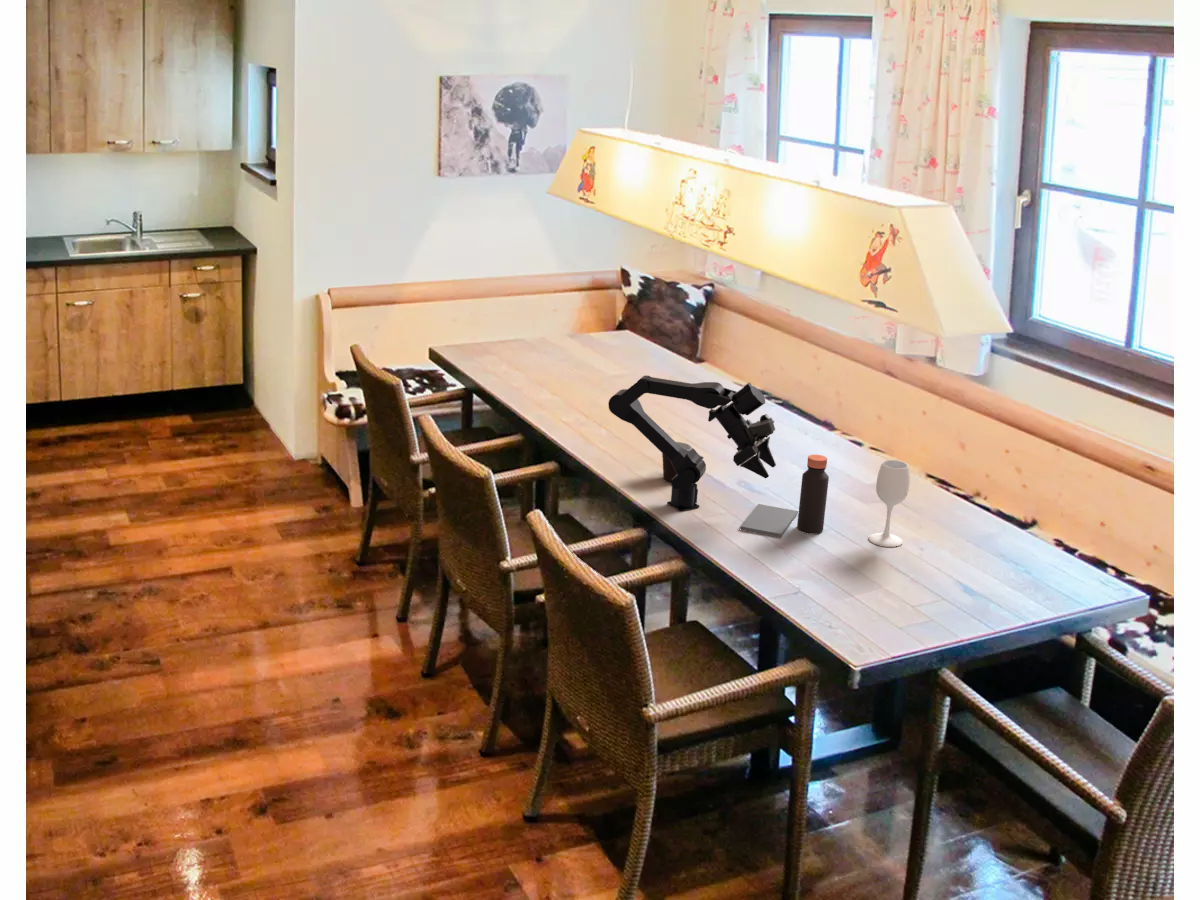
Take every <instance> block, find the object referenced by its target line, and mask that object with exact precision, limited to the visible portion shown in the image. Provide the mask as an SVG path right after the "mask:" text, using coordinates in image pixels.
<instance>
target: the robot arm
mask: <svg viewBox="0 0 1200 900" xmlns="http://www.w3.org/2000/svg"><path fill="white" fill-rule="evenodd" d="M636 381H637V382H635V383H634V384H632V385H631V386H630V387H629V388H627V389H625V388H623V389H620V390H618V391H617V392H616V393H615V394H613V395H612V396H611V397H610V398H609V400H608V410H609V412H611V413H612V414H613V415H614V416H615V417H616V418H618V419H620V420H622V421H624V422H626V423H628V424H631V425H632V426H634V428H636V429H637V430H638V431H639V433H641V434H642V435H643V436H644V437H645V438H646V439H647V440H648V441H649V442H650V443H651V444H652V445H653V446H654V447H656V448H657V450H659V451H660V452H661V454H662V453H663V454H664V455H665V456H666V457H667V458H668V459H669V460H670V461H671V463H672V465H673V467H674V470H675V472H676V473H677V474H676V475H675V476H674V478H673V479H672V480H671V483H670V485H671V492H670V493H671V495H670V501H667V502H666V504H667V505H669V506H670V507H672V508H674V509H676V510H678V511H679V512H684V511H689V510H693V509H698V508H700V505H699V504H698V503H697V502H698V494H699V493H698V492H699V490H698V482H699V480H701V478H702V477H703V476H704V475H705V473H706V470H707V464H706V462H705V460H704V456H702V455H700V454H699V453H698V452H697V451H696V449H695V448H693V447H692V449H691V450H690V451H687V450H685V449H683V448H681V447H680V446H679V445H678V444H677V443H676V442H677V441H676V440H674V439H673V438H672V437H671V436H670V435H669V434H668V433H667V432H666V431H665V430H664V429H663V428H662V427H660V425H659V424H658V423H656V422H655V421H654V420H653V418H651V417H650V416H649V415H648V414H647V413H646V411H645V410H644V408H643V406H642V403H641V401H640V400H639V398H641V397H642V396H643V395H645V394H651V395H656V396H662V397H669V398H675V399H681V400H686V401H689V402H692V403H693V404H695V405H696V406H699V407H701V408H702V407H703V408H706V409H707V410H709V411H708V418H707V421H708V422H712V421H713V420H714V419H716V420H717V421H718V423H719V424H720V426H721V427H723V429H724V430H725V432H726V433H727V436H726V437H727V438H728V440H731V439H732V441H733V442H734V444H736V446H737V447H736V450H737V451H736V452H735V454H734V455H733V458H732V459H733V460H732V461H733V462H734V463H735V465H736V466H737V467H740V468H744V469H747V470H748V471H751V472H753V473H754V474H757V475H758V476H759V477H762V478H764V479H768V478H769V476H770V475H769V473H768V471H767V470H766V469H767V468H766V467H765V466H764V464H763V462H764V463H766V464H767V465H768V466H770V467H771V468H775V467H776V466H777V464H776V461H775V459H774V457H773V456H774V455H772V452H771V450H770V447H769V445H770V439H771V437H770V436H771V435H772V434H774V431H776V427H775V424H774V423H775V420H774V419H773V418H772V417H770V416H769V415H768V414H762V415H761V416H760V418H759V420H757V421H756V422H752V421H751V420H750V419H745V418H744V417H743V416H744V415H745V416H750V415H751V414H752V413H754V412H755V411H756V410H757V409H759V408H761V407H762V406H764V405H765V404H766V399H765V396H764V394H763V393H762V391H761V390H760V389H758V388H757V387H756V386H754V385H752V383H751V382H748V383H746V384H745V385H744V386H743V387H742V388H741V389H739V390H738V391H736V390H734V389H729V388H726V387H724V386H723V384H721V382H715V381H713V382H712V381H710V382H709V381H708V382H705V381H704V382H696V383H695V382H694V383H690V382H684V381H678V380H671V379H666V378H661V377H660V378H659V377H653V376H650V375H643V376H641V378H639V379H638V380H636ZM715 408H716V409H715ZM762 461H763V462H762Z"/></svg>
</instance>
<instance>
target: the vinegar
mask: <svg viewBox="0 0 1200 900" xmlns="http://www.w3.org/2000/svg"><path fill="white" fill-rule="evenodd" d="M827 464H828V457H826V456H824V455H822V454H810V455H808V456H807V470H805V471H804V472H803V473H802V477H801V485H800V496H799V505H798V515H797V524H796V528H797V530H798V531H799V532H801V533H803V532H804V533H803V534H807V533H808V535H817V534H821V533H822V532H823V531H824V526H825V525H824V523H825V517H826V507H827V498H828V497H827V496H828V489H829V481H830V480H829V479H830V478H829V475H828V474H827V472H826V469H827Z"/></svg>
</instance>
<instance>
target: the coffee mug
mask: <svg viewBox="0 0 1200 900" xmlns="http://www.w3.org/2000/svg"><path fill="white" fill-rule="evenodd" d="M675 442H676V443H677V444H678V445H679V446H680V447H681V448H683V449H685V450H687V451H690V450H691V449H692V448H693V446H692V445H691V444H689V443H686V442H682V441H675ZM661 455H662V456H661V457H662V473H663V474H662V475H663V481H664V480H665V481H664V482H666V481H667V482H666V483H669V484H671V480H672V479H673V478H674V476H675V475H676V474H677V473H676V472H675V470H674V467H673V465H672V463H671V461H670V460H669V459H668V458H667V457H666V456H665V455H664V454H663V453H662V452H661Z"/></svg>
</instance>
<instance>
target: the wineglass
mask: <svg viewBox="0 0 1200 900" xmlns="http://www.w3.org/2000/svg"><path fill="white" fill-rule="evenodd" d="M910 474H911V473H910V466H909V464H908V463H907V462H904V461H902V460H898V459H886V460H883V461H882V462H881V464H880V467H879V471H878V474H877V478H876V485H875V487H876V488H875V489H876V490H875V491H876V494H877V496H878V498H879V500H880V501H881V502H883V504H885V505H886V519H885V520H886V521H885V527H884V530H883V532H876V533H873V534H870V535H869V536H868V540H869V541H870V543H872V544H874V545H877V546H881V547H884V548H885V547H886V548H896V546H897V547H899V546H902V545H903V543H904V542H903V539H902V538H900V537H899V536H897V535H896V534H893V533H890V527H891V526H890V524H891V517H892V511H893V508H894V507H895V506H897V505H899V504H900V503H902V502H903V501H904V500H905V499H906V497H907V496H908V493H909V490H910V489H909V488H910V483H911V481H910V480H911V479H910V478H911V477H910ZM901 544H902V545H901Z"/></svg>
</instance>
